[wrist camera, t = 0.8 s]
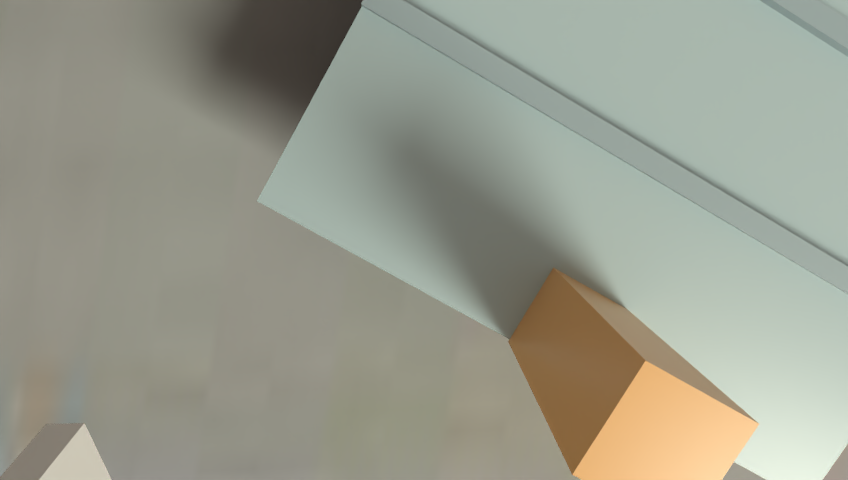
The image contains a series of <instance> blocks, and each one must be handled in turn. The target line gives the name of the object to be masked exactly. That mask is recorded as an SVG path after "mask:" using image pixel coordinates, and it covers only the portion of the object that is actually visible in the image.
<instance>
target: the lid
mask: <svg viewBox="0 0 848 480" xmlns="http://www.w3.org/2000/svg"><path fill="white" fill-rule="evenodd" d="M361 5H362V7H361V9H360V11H359V12H358V14H357V16H356V18H355V20H354V22H353V24H352V25H351V27H350V29H349V31H348V33H347V35H346V37H345V38H344V40H343V42H342V44H341V46H340V48H339V50H338V51H337V53H336V55H335V57H334V59H333V61H332V63H331V64H330V66H329V68H328V70H327V72H326V74H325V76H324V77H323V79H322V81H321V83H320V85H319V87H318V89H317V90H316V92H315V94H314V96H313V98H312V100H311V102H310V104H309V105H308V107H307V109H306V111H305V113H304V115H303V117H302V118H301V120H300V122H299V124H298V126H297V128H296V130H295V131H294V133H293V135H292V137H291V139H290V141H289V143H288V144H287V146H286V148H285V150H284V152H283V154H282V156H281V157H280V159H279V161H278V163H277V165H276V167H275V169H274V170H273V172H272V174H271V176H270V178H269V180H268V182H267V183H266V185H265V187H264V189H263V191H262V193H261V195H260V196H259V198H258V200H257V201H258V202H260V203H262V204H263V205H265V206H267V207H269V208H271V209H272V210H274V211H276V212H278V213H280V214H282V215H283V216H285V217H287V218H289V219H291V220H293V221H294V222H296V223H298V224H300V225H302V226H304V227H305V228H307V229H309V230H311V231H313V232H315V233H316V234H318V235H320V236H322V237H324V238H326V239H327V240H329V241H331V242H333V243H335V244H336V245H338V246H340V247H342V248H344V249H346V250H347V251H349V252H351V253H353V254H355V255H357V256H358V257H360V258H362V259H364V260H366V261H368V262H369V263H371V264H373V265H375V266H377V267H379V268H380V269H382V270H384V271H386V272H388V273H390V274H391V275H393V276H395V277H397V278H399V279H400V280H402V281H404V282H406V283H408V284H410V285H411V286H413V287H415V288H417V289H419V290H421V291H422V292H424V293H426V294H428V295H430V296H432V297H433V298H435V299H437V300H439V301H441V302H443V303H444V304H446V305H448V306H450V307H452V308H454V309H455V310H457V311H459V312H461V313H463V314H464V315H466V316H468V317H470V318H472V319H474V320H475V321H477V322H479V323H481V324H483V325H485V326H486V327H488V328H490V329H492V330H494V331H496V332H497V333H499V334H501V335H503V336H505V337H507V338H508V339H509V341H508V342H509V344H510V346H511V348H512V350H513V352H514V354H515V357H516V359H517V361H518V363H519V365H520V367H521V369H522V371H523V373H524V375H525V377H526V379H527V381H528V384H529V386H530V388H531V390H532V392H533V394H534V396H535V398H536V400H537V402H538V404H539V406H540V408H541V411H542V413H543V415H544V417H545V419H546V421H547V423H548V425H549V427H550V429H551V431H552V433H553V435H554V438H555V440H556V442H557V444H558V446H559V448H560V450H561V452H562V454H563V456H564V458H565V460H566V462H567V465H568V467H569V469H570V471H571V473H572V475H574V476H576V477H578V478H580V479H582V480H722V479H723V477H724V476H725V474H726V473H727V471H728V470H729V468H730V467H731V465H732V464H733V462H735V463H737V464H739V465H741V466H742V467H744V468H746V469H748V470H750V471H752V472H753V473H755V474H757V475H759V476H761V477H763V478H764V479H766V480H823V478H824V477H825V475H826V474H827V473H828V471H829V470H830V468H831V467H832V465H833V464H834V463H835V461H836V460H837V458H838V457H839V455H840V454H841V453H842V451H843V450H844V448H845V447H846V445H847V444H848V0H363V1H362V3H361Z"/></svg>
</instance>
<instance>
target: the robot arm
mask: <svg viewBox="0 0 848 480" xmlns="http://www.w3.org/2000/svg"><path fill="white" fill-rule="evenodd" d="M0 480H111V478H110V476H109V474H108V472H107V469H106V467H105V465H104V463H103V461H102V459H101V457H100V455H99V453H98V451H97V449H96V446H95V444H94V442H93V440H92V438H91V436H90V434H89V432H88V430H87V428H86V426H85V423H72V424H46V425H45V426H44V427H43V428H42V429H41V431H40V432H39V433H38V434H37V435H36V436H35V438H34V439H33V440H32V441H31V442H30V443H29V445H28V446H27V447H26V448H25V449H24V450H23V451H22V453H21V454H20V455H19V456H18V457H17V458H16V460H15V461H14V462H13V463H12V464H11V465H10V467H9V468H8V469H7V470H6V471H5V472H4V473H3V475H2V476H1V477H0Z"/></svg>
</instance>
